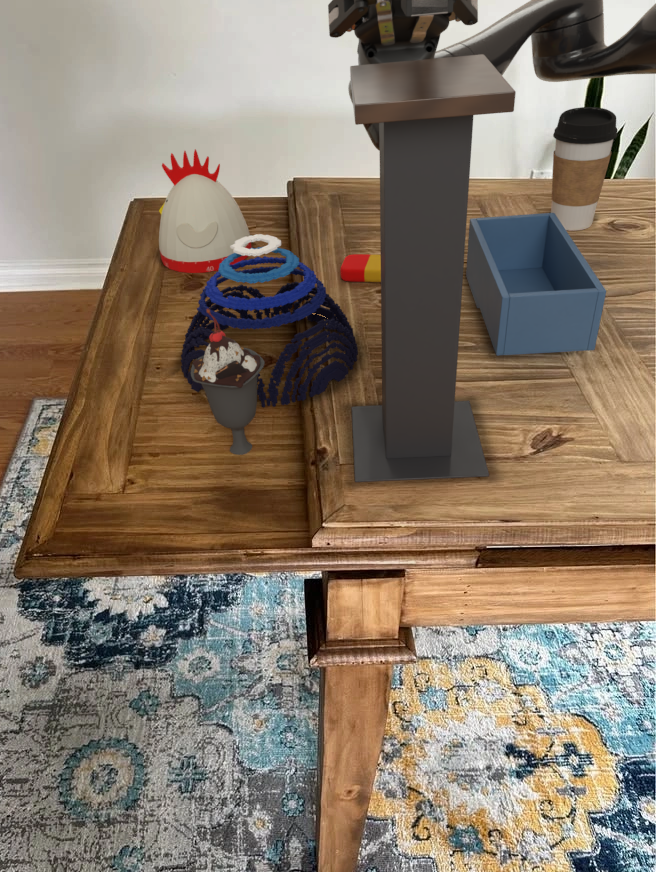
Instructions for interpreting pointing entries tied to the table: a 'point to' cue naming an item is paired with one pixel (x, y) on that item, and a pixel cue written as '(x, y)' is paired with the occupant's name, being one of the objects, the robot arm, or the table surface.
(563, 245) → the bin
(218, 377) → the sundae
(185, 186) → the kitchen timer
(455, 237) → the shelf stand
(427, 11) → the long rectangular bar
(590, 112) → the coffee cup
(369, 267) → the popsicle
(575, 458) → the table surface
